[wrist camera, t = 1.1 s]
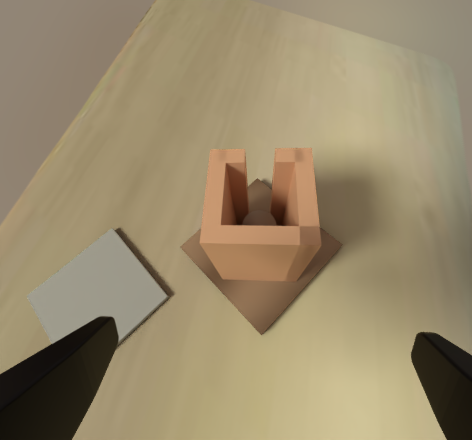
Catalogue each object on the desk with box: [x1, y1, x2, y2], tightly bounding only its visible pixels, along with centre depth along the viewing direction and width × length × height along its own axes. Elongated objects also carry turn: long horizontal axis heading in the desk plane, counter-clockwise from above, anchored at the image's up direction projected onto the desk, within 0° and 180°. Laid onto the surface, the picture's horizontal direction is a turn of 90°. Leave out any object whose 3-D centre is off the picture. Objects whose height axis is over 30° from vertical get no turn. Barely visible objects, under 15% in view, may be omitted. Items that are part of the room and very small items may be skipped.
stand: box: [181, 178, 342, 335], centre depth 20 cm, size 10×10×5 cm
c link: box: [200, 148, 322, 282], centre depth 17 cm, size 6×6×9 cm
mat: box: [27, 228, 169, 346], centre depth 21 cm, size 9×9×1 cm
